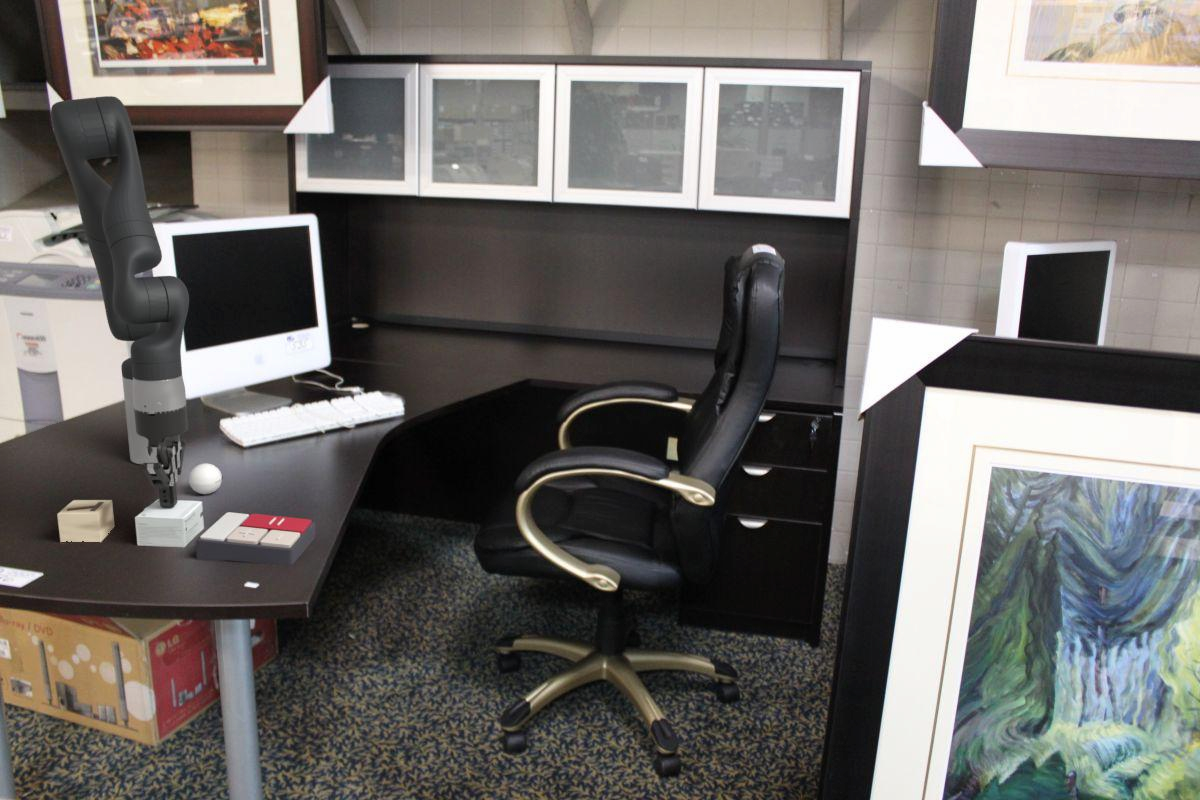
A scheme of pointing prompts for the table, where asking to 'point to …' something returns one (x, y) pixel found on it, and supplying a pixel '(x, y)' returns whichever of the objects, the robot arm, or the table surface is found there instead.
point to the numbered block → (86, 520)
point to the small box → (169, 524)
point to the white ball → (205, 478)
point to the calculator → (255, 539)
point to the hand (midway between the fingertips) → (169, 506)
